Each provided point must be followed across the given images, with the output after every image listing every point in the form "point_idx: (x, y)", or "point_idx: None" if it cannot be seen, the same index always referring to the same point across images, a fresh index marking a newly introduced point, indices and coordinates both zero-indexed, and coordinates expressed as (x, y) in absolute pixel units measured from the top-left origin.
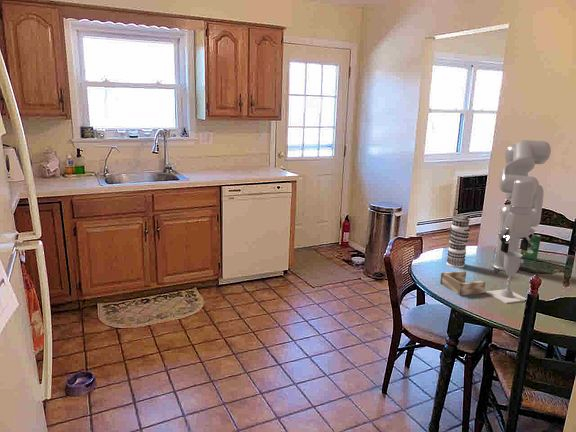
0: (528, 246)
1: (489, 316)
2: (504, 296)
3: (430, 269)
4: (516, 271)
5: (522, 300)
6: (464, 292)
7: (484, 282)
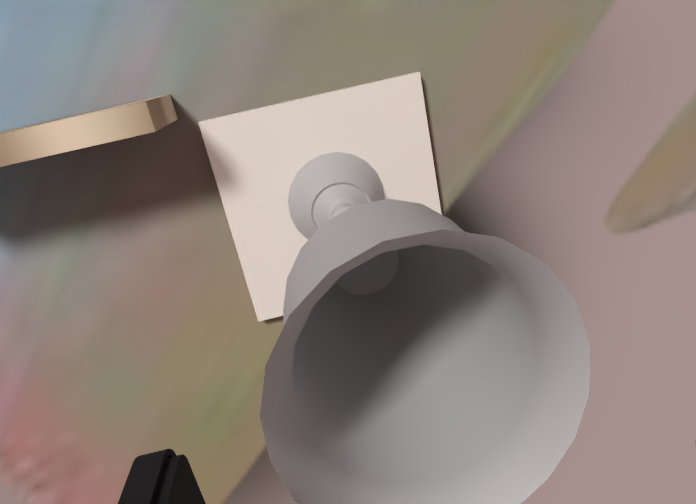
0: None
1: (52, 488)
2: (299, 230)
3: None
4: (409, 332)
5: None
6: None
7: (144, 133)
